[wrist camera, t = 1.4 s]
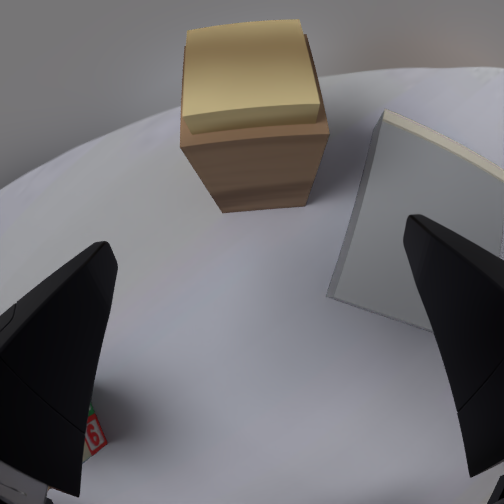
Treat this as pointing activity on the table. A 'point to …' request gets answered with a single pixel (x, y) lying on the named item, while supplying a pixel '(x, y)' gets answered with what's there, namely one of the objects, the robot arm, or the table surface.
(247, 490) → the table surface
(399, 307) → the dock
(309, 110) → the brown rectangular block
